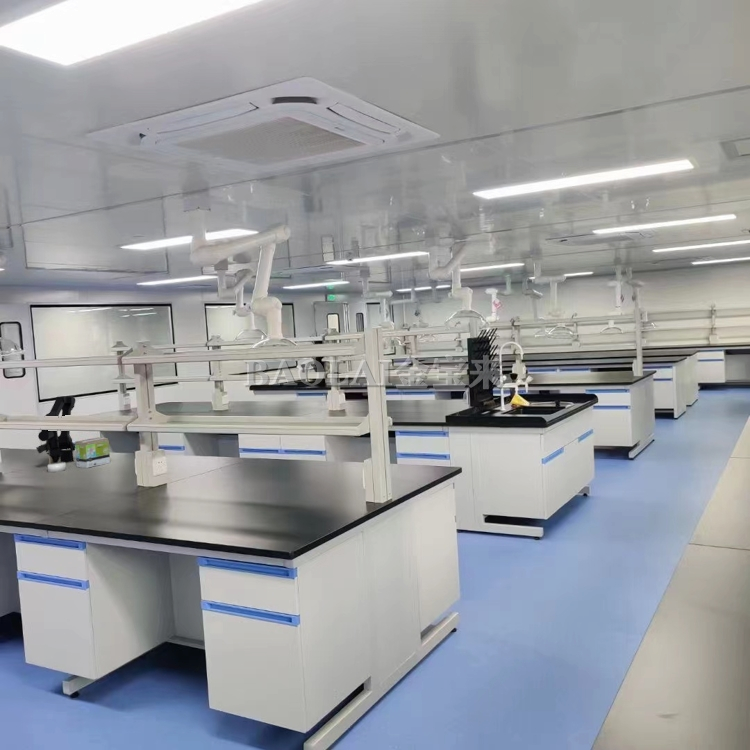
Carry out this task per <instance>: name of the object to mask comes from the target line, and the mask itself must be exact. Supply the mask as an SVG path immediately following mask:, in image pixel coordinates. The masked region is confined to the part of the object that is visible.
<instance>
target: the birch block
mask: <svg viewBox="0 0 750 750" xmlns="http://www.w3.org/2000/svg"><path fill="white" fill-rule="evenodd" d="M58 462H61V461H60V458H59V461H58ZM51 463H53V460H52V457H50V456H48V464H51Z"/></svg>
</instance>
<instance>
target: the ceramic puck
mask: <svg viewBox="0 0 750 750" xmlns="http://www.w3.org/2000/svg"><path fill="white" fill-rule="evenodd" d="M66 463H67V462H61V461H60V462H57V463H51V464H49V463H48V464H47V473H52V474H53V473H61V472H63V471H66V470H67V464H66Z"/></svg>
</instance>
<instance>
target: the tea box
mask: <svg viewBox="0 0 750 750" xmlns="http://www.w3.org/2000/svg"><path fill="white" fill-rule="evenodd" d="M109 441H110V440H109V438H108V437H95V438H94V437H93V438H87V439H82V440H77V441H75V442H74V443H75V444H74V445H75V459H76V461H75V462H76V467H77V468H83V469H88V468H92V467H97V466H101V465H102V466H103V465H106V464H107V465H109V464H110V463H111V457H110V453H111V452H110V443H109Z"/></svg>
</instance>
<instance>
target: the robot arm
mask: <svg viewBox="0 0 750 750" xmlns="http://www.w3.org/2000/svg"><path fill="white" fill-rule="evenodd" d="M75 404H76V398H75V397H74V396H73V395H66V396H65V395H64V396H63V395H62V396H61V395H60V396H56V397H55V399H54V403H53V405H52V407H51V409H50V410H49V412H48V413H46V414H45V416H58V417H59V415H60V414H61V417H62V416H65V415H72V411H73V410H74V408H75ZM38 439H39V441H41V442H45V443H43V444H40V445H38V446H37V447H35V448H36V451H37V453H38V454H41V453H43V452H46V454H47V455H48V457H52V460H53V463H57V462H58V461H59V458H60V462H65V463H69V462H70V463H72V462H75V459H74V451H75V452H76V448H75V444H74V442H73V438H72V437H71V435H70V431H61V430H60V434H59V435H58V430H57V431H48V430H41V429H40V432H39V433H38Z"/></svg>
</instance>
